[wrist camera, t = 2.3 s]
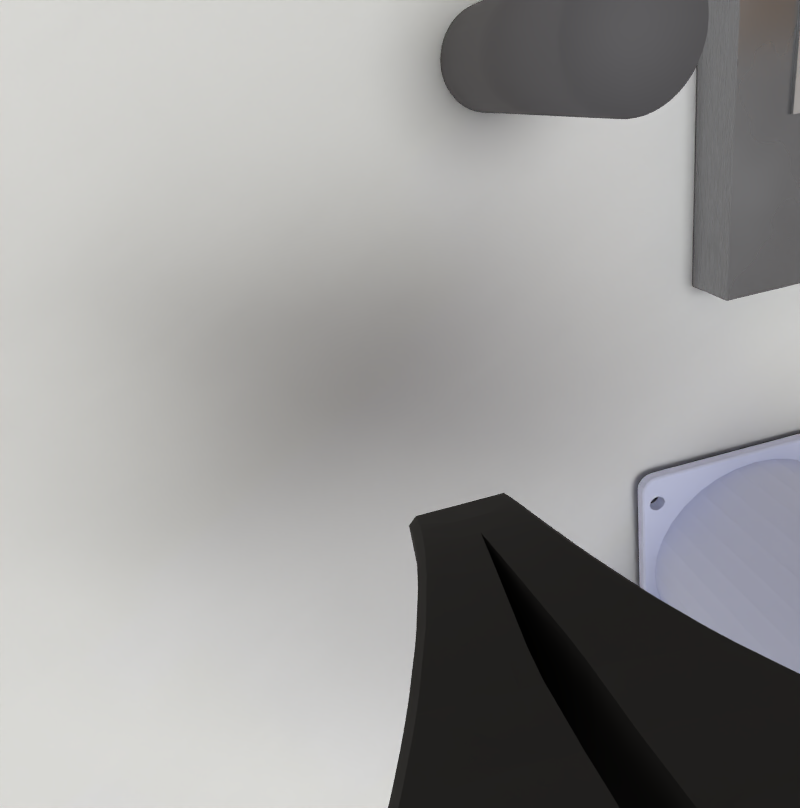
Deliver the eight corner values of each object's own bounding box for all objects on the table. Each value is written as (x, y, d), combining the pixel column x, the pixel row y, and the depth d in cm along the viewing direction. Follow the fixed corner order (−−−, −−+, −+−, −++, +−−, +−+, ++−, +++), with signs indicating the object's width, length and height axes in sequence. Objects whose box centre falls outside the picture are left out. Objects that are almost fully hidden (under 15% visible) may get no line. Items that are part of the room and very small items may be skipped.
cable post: (539, 102, 17) (706, 103, 11) (447, 120, 17) (563, 132, 10) (531, -8, 16) (711, -79, 10) (433, 10, 16) (552, -50, 9)
